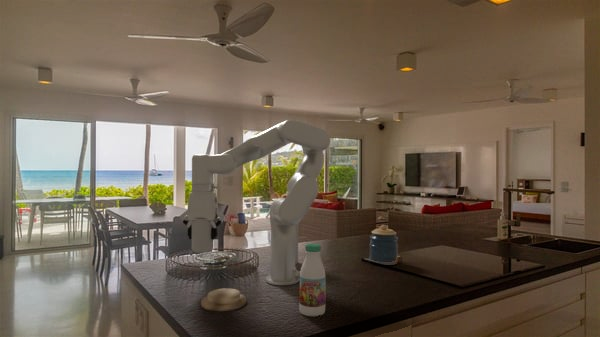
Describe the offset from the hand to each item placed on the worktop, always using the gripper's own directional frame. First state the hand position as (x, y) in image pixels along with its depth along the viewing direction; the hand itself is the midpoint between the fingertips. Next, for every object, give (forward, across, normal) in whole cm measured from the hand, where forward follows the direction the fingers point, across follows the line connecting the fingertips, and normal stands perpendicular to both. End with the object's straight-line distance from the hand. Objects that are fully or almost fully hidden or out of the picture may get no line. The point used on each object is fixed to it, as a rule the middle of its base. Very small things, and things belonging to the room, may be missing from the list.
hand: (202, 238), depth 131 cm
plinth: (+18, -12, +14) cm, 25 cm away
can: (+5, 0, 0) cm, 5 cm away
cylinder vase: (+18, -25, -38) cm, 49 cm away
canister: (+19, -71, -43) cm, 85 cm away
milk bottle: (+18, -40, +19) cm, 47 cm away
